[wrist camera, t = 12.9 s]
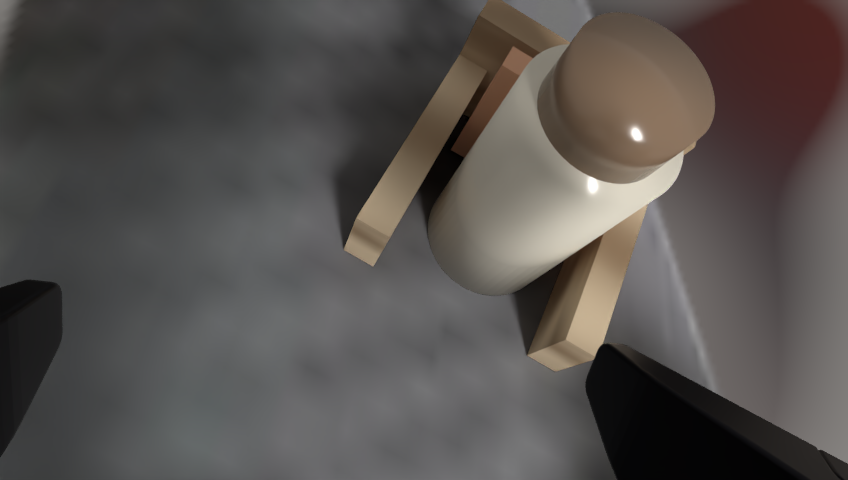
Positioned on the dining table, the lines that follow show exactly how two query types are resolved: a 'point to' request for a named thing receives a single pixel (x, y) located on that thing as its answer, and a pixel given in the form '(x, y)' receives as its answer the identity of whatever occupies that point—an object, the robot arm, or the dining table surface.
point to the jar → (571, 152)
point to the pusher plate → (491, 100)
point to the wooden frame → (458, 94)
